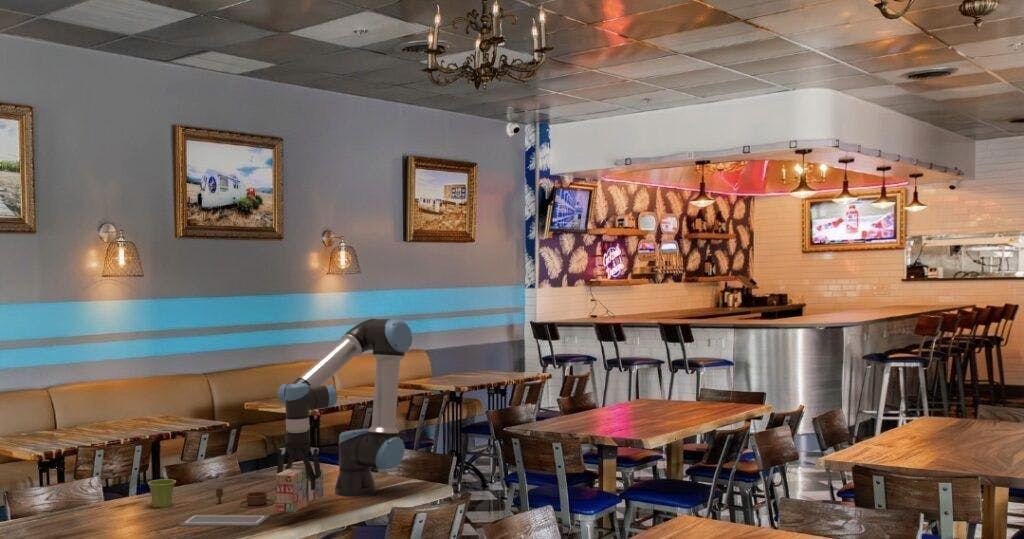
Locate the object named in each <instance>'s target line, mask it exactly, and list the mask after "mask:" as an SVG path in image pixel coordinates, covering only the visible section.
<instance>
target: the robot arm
mask: <svg viewBox="0 0 1024 539" xmlns="http://www.w3.org/2000/svg"><path fill="white" fill-rule="evenodd" d="M412 344H413V333H412V330H411V328H410V326H409V324H408V323H406V322H405V321H404V320H401V319H395V318H390V319H389V318H387V319H386V318H369V319H366V320H363V321H361V322H360V323H358V324H356V325H355V326H352V328H350V329H349V330H348V331H347V332H345V333H344V334H343V335H342V336H341V338H340V341H339V342H338V343H337V344H336V345H334V346H333V347H332V348H331V349H330V350H329V351H328V352H326V353H325V354H324V355H323V356H322V357H321V358H319V359H318V360H317V361H316V362H314V364H313V365H312V366H311V367H309V368H308V369H307V370H306V371H304V373H302V374H301V375H300V376H298V377H297V378H296V379H295V380H294V381H293V382H292V383H291V382H288V383H283V384H281V385H280V386H279V388H278V390H277V399H278V401H279V403H281V405H283V406H284V405H285V430H286V435H285V438H286V442H285V443H286V445H285V447H280V448H278V449H277V450H276V452H277V456H278V458H277V471H276V474H278V473H281V472H283V471H285V470H287V469H290V468H291V467H293V463H294V461H295V460H297V459H298V460H302V462H303V465H304V467H306V469H307V472H308V474H309V477H310V480H309V481H308V495H309V501H311V500H312V499H313V490H315V488H316V479H318V478H319V477H321V471H320V470H321V466H320V465H321V464H320V458H319V452H320V447H313V446H312V445H311V444H310V441H311V438H310V436H311V435H310V431H309V429H310V411H314V410H321V409H327V408H330V407H333V406H335V405H336V403H337V401H338V392H337V390H336V388H335V387H334V386H333V385H330V384H328V385H327V384H326V385H325V383H326V382H328V380H329V379H331V378H332V377H334V375H335V374H336V373H337V372H339V371H340V370H341V369H342V368H343V367H344V366H345V365H346V364H348V363H350V361H351V360H352V359H353V358H355V357H359V356H361V355H362V354H364V353H365V352H367V351H372V356H373V358H374V359H375V360H376V362H375V376H374V390H373V402H372V403H373V404H372V414H371V415H372V419H371V426H370V427H369V428H362V429H354V430H353V429H352V430H348V431H347V430H346V431H343V432H341V433H340V434H339V435H338V436H339V437H338V466H339V467H338V469H339V471H338V475H337V479H336V482H335V486H334V494H335V495H337V496H339V497H340V496H341V497H362V496H367V495H368V496H369V495H372V494H374V493H376V492H377V486H376V483H375V479H374V477H373V476H374V475H373V473H372V468H375V469H379V470H392V469H394V468H396V467H397V466H398V465H399V464H400V463H401V462H402V461H403V458H404V457H405V456H404V455H405V447H406V446H405V443H404V441H403V439H401V438H400V431H399V429H398V428H397V427H396V424H397V423H396V421H397V406H398V395H399V394H398V393H399V377H400V364H401V361H402V360H403V359H404V358H405V352H406V351H408V350H409V349H410V347H411V346H412ZM310 452H311V455H312V459H313V460H312V461H313V466H312V463H311V461H310V457H309V455H308V454H309V453H310ZM286 453H287V454H288V455H289V456H288V460H287V463H286V466H285V469H284V462H285V454H286ZM313 467H314V468H313ZM313 469H315V474H314V471H313Z"/></svg>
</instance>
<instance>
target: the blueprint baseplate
mask: <svg viewBox="0 0 1024 539" xmlns="http://www.w3.org/2000/svg"><path fill="white" fill-rule="evenodd" d="M269 517H271V515H270V514H193V515H192V516H190V517H188V518H187V519H185V520H184V521H183V522H181V523H179V524H178V527H183V528H184V527H186V526H187V527H258V526H259V525H261V524H262V523H263V522H265V520H267V519H269ZM260 523H261V524H260Z"/></svg>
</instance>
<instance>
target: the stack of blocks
mask: <svg viewBox="0 0 1024 539" xmlns="http://www.w3.org/2000/svg"><path fill="white" fill-rule="evenodd" d="M313 471H314V474H315V469H314V468H313ZM320 471H321V477H319V478H318V479H316V488H315V490H313V499H312V500H311V501H309V495H308V481H309V480H310V477H309V474H308V472H307V469H306V467H305V466H304V465H303V466H301V465H300V466H298V465H297V466H295V465H292V467H291V468H290V469H287V470H285V469H284V470H283V472H281V473H278V474H277V473H276V474H275V491H276V492H275V493H276V512H277V513H292V514H293V513H297V511H300V510H302V509H303V508H305V507H306V506H308V505H309V504H312V503H313V502H314V501H317V500H319V499H320V498H322V497H324V478H323V473H324V472H323V469H320Z"/></svg>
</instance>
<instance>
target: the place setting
mask: <svg viewBox="0 0 1024 539" xmlns="http://www.w3.org/2000/svg"><path fill="white" fill-rule="evenodd" d="M223 495H224V489H223V488H216V489H215V496H216V497H217V498H218V500H217V503H218V504H219V503H220V504H221V503H222V497H223ZM270 501H271V502H270ZM246 502H247V504H248V505H249V506H247V505H246V506H245V505H243V503H244V504H246ZM267 502H270V503H269V504H266V503H267ZM241 504H242V505H241ZM265 504H266V505H265ZM274 504H275V501H274V500H273V499H268V495H267V492H264V491H253V492H249V493H246V500H243V501H241V502H239V507H240V508H243V509H262V508H267V507H271V506H273V505H274ZM259 505H260V506H259Z"/></svg>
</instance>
